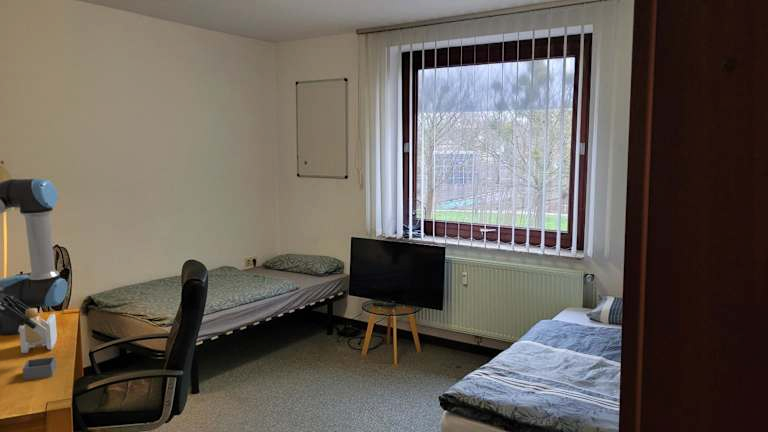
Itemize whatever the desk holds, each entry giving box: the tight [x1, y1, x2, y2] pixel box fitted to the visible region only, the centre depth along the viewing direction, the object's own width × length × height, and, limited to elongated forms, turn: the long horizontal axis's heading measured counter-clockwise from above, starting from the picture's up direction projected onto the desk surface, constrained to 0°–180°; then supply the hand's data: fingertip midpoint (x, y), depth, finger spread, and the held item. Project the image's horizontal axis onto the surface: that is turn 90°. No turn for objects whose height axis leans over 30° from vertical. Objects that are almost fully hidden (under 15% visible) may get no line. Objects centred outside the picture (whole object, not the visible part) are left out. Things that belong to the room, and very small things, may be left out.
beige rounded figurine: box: [24, 307, 42, 343], centre depth 206 cm, size 5×5×12 cm
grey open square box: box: [22, 356, 57, 381], centre depth 197 cm, size 8×8×4 cm
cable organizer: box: [18, 313, 58, 354], centre depth 223 cm, size 15×11×12 cm
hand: (44, 329), depth 208 cm, fingers closed on beige rounded figurine, 5 cm apart
